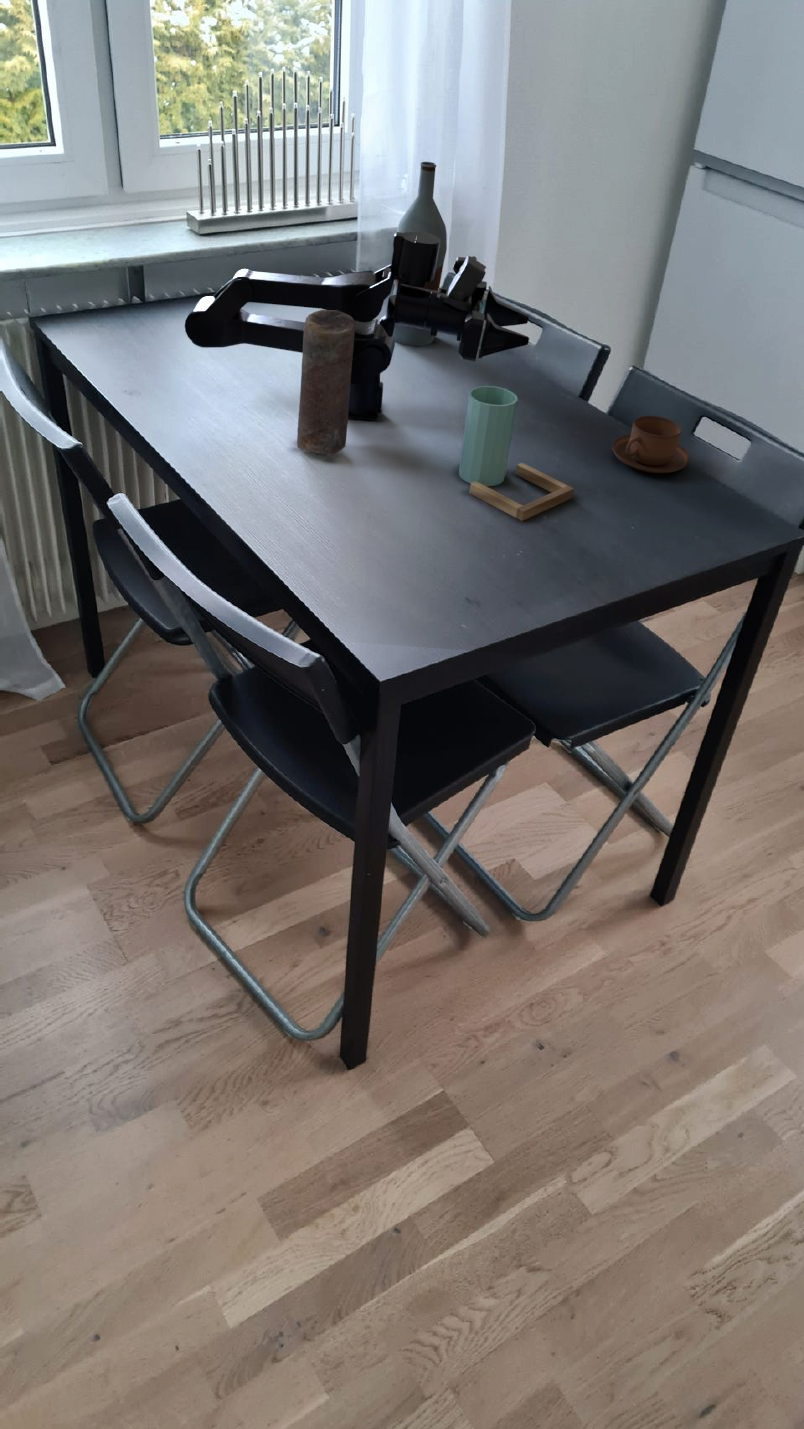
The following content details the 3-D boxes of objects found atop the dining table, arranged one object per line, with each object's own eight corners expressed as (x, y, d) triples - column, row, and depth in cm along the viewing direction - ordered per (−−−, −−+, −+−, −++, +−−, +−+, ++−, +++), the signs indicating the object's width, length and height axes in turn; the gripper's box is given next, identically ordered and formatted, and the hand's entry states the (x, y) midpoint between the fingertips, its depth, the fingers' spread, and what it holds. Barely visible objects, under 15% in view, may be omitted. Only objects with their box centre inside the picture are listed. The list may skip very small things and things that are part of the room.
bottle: (379, 339, 205) (392, 163, 187) (398, 325, 212) (413, 153, 193) (426, 351, 203) (444, 173, 184) (443, 336, 210) (463, 163, 191)
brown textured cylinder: (354, 446, 170) (362, 315, 157) (336, 465, 164) (343, 331, 152) (308, 435, 172) (312, 305, 159) (288, 454, 166) (292, 320, 153)
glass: (459, 484, 163) (470, 403, 155) (457, 463, 169) (468, 384, 161) (506, 488, 164) (519, 407, 156) (502, 467, 169) (515, 388, 161)
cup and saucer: (670, 488, 168) (679, 450, 164) (598, 463, 173) (606, 426, 169) (697, 461, 177) (707, 424, 173) (628, 438, 181) (636, 402, 177)
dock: (469, 493, 161) (470, 483, 160) (520, 472, 168) (521, 462, 167) (522, 521, 156) (523, 511, 155) (572, 498, 163) (574, 488, 162)
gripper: (434, 275, 157) (542, 297, 157) (441, 237, 171) (540, 258, 172) (420, 352, 164) (523, 372, 164) (428, 309, 178) (523, 328, 179)
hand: (528, 330), depth 170 cm, fingers open, 9 cm apart
